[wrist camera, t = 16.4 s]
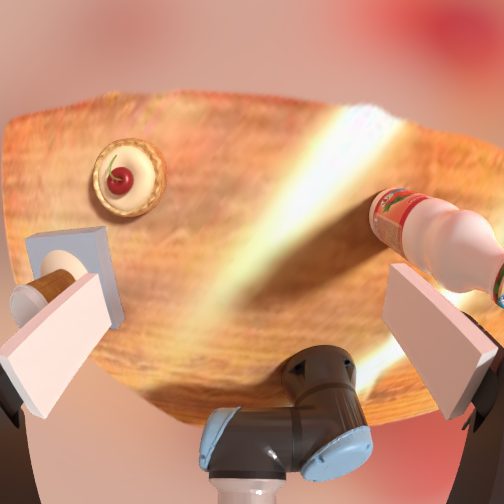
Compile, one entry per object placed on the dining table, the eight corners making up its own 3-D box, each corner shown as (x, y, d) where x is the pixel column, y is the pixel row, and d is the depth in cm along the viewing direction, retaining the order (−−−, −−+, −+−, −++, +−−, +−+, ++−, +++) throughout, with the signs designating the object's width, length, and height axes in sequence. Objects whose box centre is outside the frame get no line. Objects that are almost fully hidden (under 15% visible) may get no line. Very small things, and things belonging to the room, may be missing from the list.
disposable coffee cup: (67, 315, 44) (34, 350, 33) (40, 274, 42) (1, 302, 30) (95, 295, 43) (59, 333, 31) (64, 250, 40) (21, 277, 29)
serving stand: (125, 318, 49) (116, 330, 45) (58, 313, 50) (47, 323, 45) (105, 226, 43) (92, 232, 39) (36, 233, 44) (23, 239, 40)
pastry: (116, 217, 44) (88, 233, 35) (101, 150, 40) (70, 153, 31) (180, 203, 42) (160, 216, 34) (165, 129, 38) (141, 125, 30)
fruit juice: (361, 237, 43) (467, 333, 17) (374, 180, 40) (507, 220, 14) (407, 246, 44) (517, 331, 17) (420, 194, 41) (549, 242, 14)
